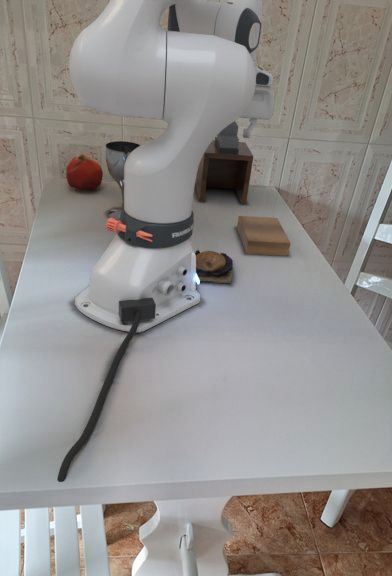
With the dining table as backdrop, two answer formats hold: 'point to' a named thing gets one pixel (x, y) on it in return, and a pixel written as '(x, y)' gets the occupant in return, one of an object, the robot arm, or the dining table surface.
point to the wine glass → (118, 166)
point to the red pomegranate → (84, 173)
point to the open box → (225, 171)
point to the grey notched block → (228, 140)
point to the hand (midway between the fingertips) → (227, 136)
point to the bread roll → (213, 266)
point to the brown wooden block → (263, 236)
